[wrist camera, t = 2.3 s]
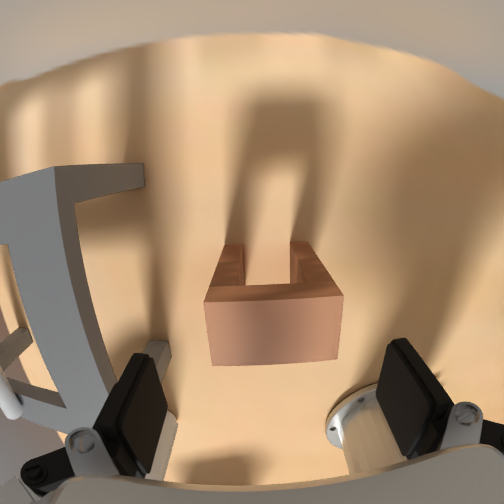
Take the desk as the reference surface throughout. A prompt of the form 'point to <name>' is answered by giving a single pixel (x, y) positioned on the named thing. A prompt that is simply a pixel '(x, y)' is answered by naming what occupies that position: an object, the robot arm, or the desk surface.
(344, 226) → the desk surface
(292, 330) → the u-shaped wooden block
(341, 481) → the robot arm
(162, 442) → the photo printer
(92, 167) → the grey square frame
